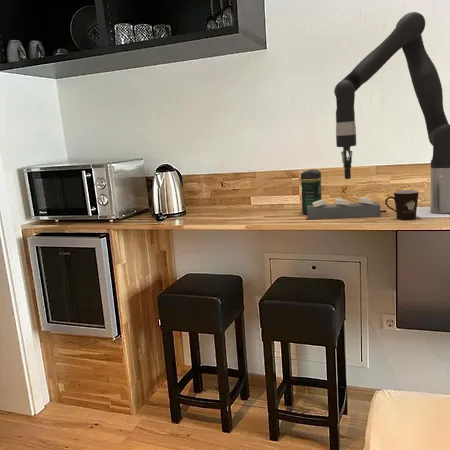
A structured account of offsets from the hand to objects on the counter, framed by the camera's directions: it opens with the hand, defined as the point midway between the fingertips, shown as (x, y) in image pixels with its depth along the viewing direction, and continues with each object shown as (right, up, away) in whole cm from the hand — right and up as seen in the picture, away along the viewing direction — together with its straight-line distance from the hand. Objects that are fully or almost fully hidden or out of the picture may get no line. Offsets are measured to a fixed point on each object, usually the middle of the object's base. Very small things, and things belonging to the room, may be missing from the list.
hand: (347, 178), depth 190 cm
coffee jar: (-11, -13, +17) cm, 24 cm away
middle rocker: (-2, -9, +2) cm, 9 cm away
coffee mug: (+18, -16, -9) cm, 26 cm away
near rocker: (+7, -9, 0) cm, 11 cm away
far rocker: (-10, -9, +4) cm, 15 cm away
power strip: (+1, -15, +4) cm, 15 cm away
